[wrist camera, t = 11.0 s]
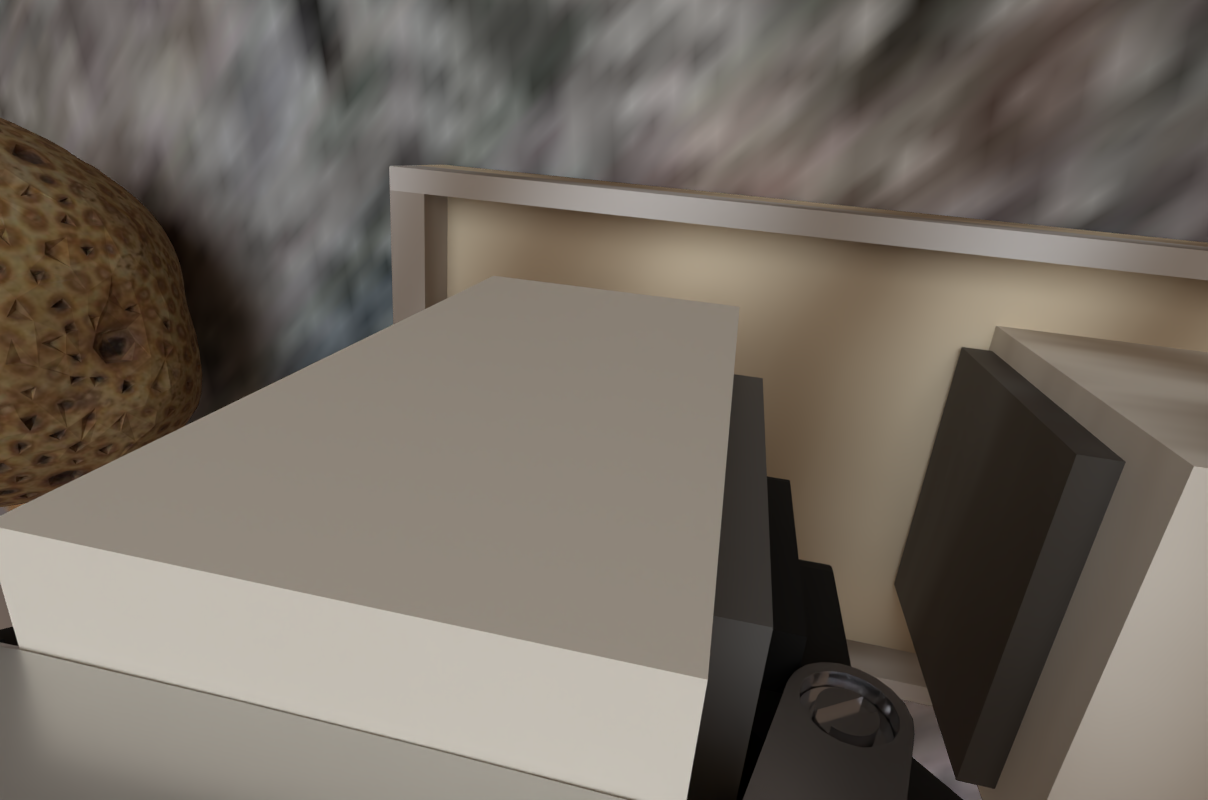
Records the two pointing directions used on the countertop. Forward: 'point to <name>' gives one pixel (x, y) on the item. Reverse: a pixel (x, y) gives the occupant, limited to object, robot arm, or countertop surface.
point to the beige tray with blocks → (933, 442)
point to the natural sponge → (83, 321)
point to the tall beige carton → (450, 542)
